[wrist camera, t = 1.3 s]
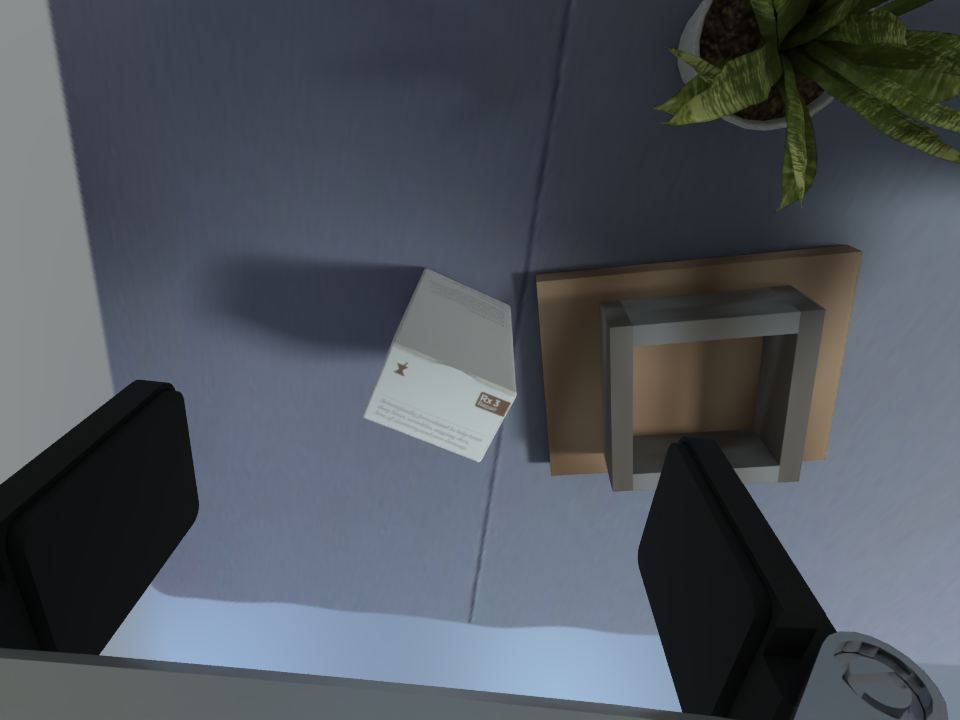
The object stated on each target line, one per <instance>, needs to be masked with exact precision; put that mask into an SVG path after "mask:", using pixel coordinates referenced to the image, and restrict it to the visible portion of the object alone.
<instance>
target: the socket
mask: <svg viewBox="0 0 960 720" xmlns="http://www.w3.org/2000/svg"><path fill="white" fill-rule="evenodd" d="M861 256H862V251H860V250H858V249H855V248H853V247H851V246H849V245H842V246H831V247H821V248H810V249H800V250H789V251H779V252H768V253H758V254H747V255H737V256H726V257H716V258H705V259H695V260H684V261H674V262H663V263H653V264H642V265H632V266H621V267H611V268H600V269H590V270H579V271H569V272H558V273H548V274H537V275H536V285H537V298H538V311H539V324H540V337H541V351H542V364H543V377H544V390H545V403H546V416H547V430H548V443H549V456H550V468H551V476H555V475H573V474H590V473H607V472H608V474H609V478H610V482H611V486H612V490H613V491H631V490H649V489H656V488H657V484H658V481H659V478H660V474H661V471H662V468H663V464H664V461H665V457H666V454H667V451H668V448H669V446H670V444H671V443H678V442H679V440H680V439H681V438H682V437H683V436H687V437H696V438H706V439H713V440H715V441H716V442H717V443H718V445H719V447H720V448H721V450H722V451H723V453H724V454H725V456H726V458H727V459H728V461H729V462H730V464H731V465H732V467H733V469H734V470H735V472H736V473H737V475H738V476H739V478H740V480H741V481H742V483H743V484H758V483H777V482H795V481H799V477H800V471H801V464H802V461H812V460H825V458H826V452H827V447H828V441H829V435H830V430H831V424H832V418H833V413H834V407H835V402H836V396H837V390H838V385H839V379H840V374H841V368H842V362H843V357H844V351H845V345H846V340H847V334H848V329H849V323H850V317H851V312H852V306H853V300H854V295H855V289H856V284H857V278H858V272H859V267H860V261H861Z"/></svg>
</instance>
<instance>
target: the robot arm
mask: <svg viewBox="0 0 960 720" xmlns="http://www.w3.org/2000/svg"><path fill="white" fill-rule="evenodd" d="M198 510H199V500H198V493H197V486H196V480H195V473H194V466H193V459H192V452H191V445H190V438H189V431H188V424H187V417H186V410H185V404H184V398H183V395H182V394H181V393H180V392H179V391H175V388H174V387H173V385H172V384H170V383H166V382H156V381H146V380H136V381H134V382H132V383H131V384H130V385H128V386H127V387H126V388H124V389H123V390H122V391H120V392H119V393H118V394H117V395H115V396H114V397H113V398H111V399H110V400H109V401H108V402H106V403H105V404H104V405H102V406H101V407H100V408H99V409H98V410H96V411H95V412H93V413H92V414H91V415H90V416H88V417H87V418H86V419H84V420H83V421H82V422H81V423H80V424H78V425H77V426H75V427H74V428H73V429H71V430H70V431H69V432H68V433H66V434H65V435H64V436H62V437H61V438H60V439H59V440H57V441H56V442H55V443H53V444H52V445H51V446H50V447H48V448H47V449H46V450H44V451H43V452H42V453H41V454H39V455H38V456H37V457H35V458H34V459H33V460H32V461H30V462H29V463H28V464H26V465H25V466H24V467H23V468H22V469H20V470H19V471H17V472H16V473H15V474H14V475H12V476H11V477H10V478H8V479H7V480H6V481H5V482H3V483H2V484H1V485H0V720H948V713H947V707H946V702H945V700H944V698H943V697H942V695H941V693H940V691H939V689H938V687H937V686H936V685H935V683H934V682H933V681H932V680H931V679H930V677H929V676H928V675H927V674H926V673H925V671H924V670H922V669H921V668H920V667H919V666H918V665H917V664H916V663H914V662H913V661H912V660H911V659H910V658H909V657H907V656H906V655H904V654H903V653H901V652H900V651H898V650H897V649H895V648H894V647H892V646H891V645H889V644H887V643H885V642H882V641H880V640H878V639H876V638H874V637H872V636H868V635H864V634H860V633H857V632H837V631H836V630H835V628H834V627H833V625H832V624H831V622H830V620H829V619H828V617H827V616H826V613H825V612H824V610H823V609H822V607H821V606H820V604H819V602H818V601H817V599H816V598H815V596H814V595H813V593H812V591H811V590H810V588H809V587H808V585H807V584H806V582H805V580H804V579H803V577H802V576H801V574H800V572H799V571H798V569H797V568H796V566H795V565H794V563H793V561H792V560H791V558H790V557H789V555H788V554H787V552H786V550H785V549H784V547H783V546H782V544H781V543H780V541H779V539H778V538H777V536H776V535H775V533H774V532H773V530H772V528H771V527H770V525H769V524H768V522H767V521H766V519H765V517H764V516H763V514H762V513H761V511H760V510H759V508H758V506H757V505H756V503H755V502H754V500H753V499H752V497H751V495H750V494H749V492H748V491H747V489H746V488H745V486H744V484H743V483H742V481H741V480H740V478H739V476H738V475H737V473H736V472H735V470H734V469H733V467H732V465H731V464H730V462H729V461H728V459H727V458H726V456H725V454H724V453H723V451H722V450H721V448H720V447H719V445H718V443H717V442H716V441H715V440H713V439H706V438H696V437H687V436H683V437H682V438H681V439H680V440H679V442H678V443H671V444H670V446H669V448H668V451H667V454H666V457H665V461H664V464H663V468H662V471H661V474H660V478H659V481H658V484H657V488H656V491H655V495H654V498H653V501H652V505H651V508H650V511H649V515H648V518H647V522H646V525H645V528H644V532H643V535H642V538H641V542H640V545H639V549H638V565H639V569H640V572H641V576H642V579H643V582H644V586H645V589H646V592H647V596H648V599H649V602H650V606H651V609H652V612H653V616H654V619H655V622H656V626H657V629H658V632H659V636H660V639H661V642H662V646H663V649H664V652H665V656H666V659H667V662H668V666H669V669H670V672H671V676H672V679H673V682H674V686H675V689H676V692H677V696H678V699H679V702H680V706H681V709H682V712H683V713H681V712H673V711H664V710H655V709H647V708H639V707H631V706H622V705H612V704H604V703H594V702H584V701H573V700H564V699H553V698H544V697H534V696H525V695H515V694H505V693H495V692H485V691H475V690H465V689H455V688H445V687H435V686H424V685H414V684H403V683H393V682H383V681H372V680H362V679H352V678H340V677H330V676H320V675H309V674H299V673H298V674H297V673H287V672H277V671H267V670H256V669H245V668H234V667H223V666H211V665H200V664H189V663H177V662H166V661H156V660H144V659H133V658H122V657H111V656H100V655H99V654H100V653H101V651H102V650H103V649H104V648H105V646H106V645H107V643H108V642H109V641H110V639H111V638H112V636H113V635H114V634H115V632H116V631H117V629H118V628H119V627H120V625H121V624H122V622H123V621H124V619H125V618H126V617H127V615H128V614H129V613H130V611H131V610H132V608H133V607H134V606H135V604H136V603H137V601H138V600H139V599H140V597H141V596H142V595H143V593H144V592H145V590H146V589H147V587H148V586H149V585H150V583H151V582H152V581H153V579H154V578H155V576H156V575H157V574H158V572H159V571H160V569H161V568H162V567H163V565H164V564H165V562H166V561H167V560H168V558H169V557H170V555H171V554H172V553H173V551H174V550H175V548H176V547H177V546H178V544H179V543H180V542H181V540H182V539H183V537H184V536H185V535H186V533H187V532H188V530H189V529H190V528H191V526H192V525H193V523H194V522H195V520H196V517H197V514H198Z"/></svg>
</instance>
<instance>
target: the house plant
mask: <svg viewBox="0 0 960 720" xmlns="http://www.w3.org/2000/svg"><path fill="white" fill-rule="evenodd" d="M886 1H887V0H703V1H702V3H701V4H700V6H699V7H698V8H697V10H696V11H695V12H694V14H693V15H692V16H691V18H690V19H689V20H688V22H687V24H686V26H685V28H684V31H683V33H682V35H681V38H680V43H679V47H678V50H677V49H674V48H668V47H663V48H667V49H668V50H670V51H671V52H672V54H673V55H674V56H675V57H677V58H678V68H679V72H680V75H681V79H682V81H683V82H684V84H685V85H684V86H683V87H682V88H681V89H680V90H679V91H678V92H677V93H676V94H675V95H674V96H673V97H672V98H670V99H669V100H668V101H666V102H665V103H664V104H662V105H661V106H658V107H654V108H651V109H656V110H662V111H664V112H666V113H668V114H670V115H672V116H674V117H673V118H672V119H671V120H670V121H669V122H660V123H663V124H668V125H684V124H691V123H699V122H708V121H711V120H715V119H718V118H721V117H722V118H723V119H724V120H725V121H727V122H730V123H732V124H735V125H737V126H739V127H742V128H744V129H752V130H762V131H768V130H774V129H780V128H786V127H787V133H786V144H785V153H784V161H783V169H782V192H783V196H782V200H781V204H780V208H778V209H777V210H776V211H778V210H780V209H782V208H784V207H786V206H788V205H790V204H791V203H793V202H795V201H797V200H798V199H799V200H800V203H801V206H802V199H803V196H804V195H805V194H806V192H807V191H808V189H809V188H810V186H811V185H812V182H813V179H814V177H815V174H816V167H817V152H816V143H815V136H814V129H813V125H812V121H811V116H813V115H814V114H815V113H817V112H818V111H820V110H821V109H822V108H824V107H825V106H826V105H828V104H829V103H831V102H832V100H833V99H834V98H835V99H837V100H838V101H840V102H841V103H843V104H844V105H846V106H847V107H849V108H851V109H852V110H854V111H855V112H857V113H859V114H860V115H861V116H862V117H864V118H865V119H866V120H867V121H868V122H870V123H871V124H872V125H873V126H874V127H876V128H877V129H879V130H880V131H882V132H883V133H885V134H886V135H888V136H890V137H891V138H893V139H895V140H897V141H899V142H901V143H903V144H906V145H908V146H910V147H913V148H915V149H918V150H920V151H923V152H925V153H928V154H930V155H933V156H936V157H938V158H941V159H943V160H947V161H952V162H956V163H959V164H960V152H959V151H957V150H955V149H954V148H952V147H950V146H948V145H947V144H945V143H943V141H942V140H941V139H940V138H939V136H938V135H936V134H935V133H934V132H933V131H932V130H931V129H930V128H928V127H927V126H925V125H923V124H921V123H919V122H917V121H915V120H913V119H911V118H909V117H907V116H906V115H904V114H902V113H900V112H899V111H897V110H896V109H894V108H898V109H900V110H901V111H903V112H905V113H906V114H908V115H910V116H912V117H914V118H916V119H918V120H921V121H923V122H925V123H928V124H930V125H933V126H936V127H940V128H943V129H946V130H950V131H954V132H957V133H960V112H959V111H958V110H956V109H953V108H950V107H947V106H945V105H942V104H939V103H941V102H944V101H947V100H949V99H952V98H954V97H957V96H958V94H959V92H960V36H958V35H955V34H951V33H939V32H936V31H919V30H906V27H905V25H904V24H903V23H902V22H901V21H900V20H899V19H898V17H897V16H899V15H902V14H904V13H906V12H909V11H911V10H913V9H916V8H918V7H920V6H922V5H924V4H926V3H929V2H931V1H933V0H895V1H893V2H891V3H888V4H886V5H884V6H882V7H880V8H878V9H876V10H874V9H875V7H876V6H878V5H880V4H882V3H884V2H886ZM776 211H775V212H776Z"/></svg>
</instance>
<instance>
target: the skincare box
mask: <svg viewBox="0 0 960 720" xmlns="http://www.w3.org/2000/svg"><path fill="white" fill-rule="evenodd" d="M516 395H517V392H516V383H515V369H514V353H513V335H512V323H511V307H510V306H509V305H508V304H506V303H503V302H501V301H499V300H496V299H494V298H492V297H490V296H487V295H485V294H483V293H481V292H479V291H476V290H474V289H472V288H470V287H467V286H465V285H463V284H461V283H458V282H456V281H454V280H452V279H450V278H447V277H445V276H443V275H441V274H439V273H436V272H434V271H432V270H430V269H424V271H423V273H422V275H421V278H420V280H419V282H418V284H417V287H416V289H415V291H414V294H413V296H412V298H411V300H410V302H409V304H408V306H407V309H406V311H405V313H404V315H403V317H402V320H401V322H400V324H399V326H398V329H397V331H396V333H395V335H394V338H393V340H392V343H391V345H390V348H389V351H388V353H387V356H386V359H385V361H384V364H383V366H382V369H381V371H380V374H379V376H378V379H377V381H376V384H375V386H374V388H373V391H372V393H371V395H370V398H369V400H368V402H367V404H366V407H365V409H364V412H363V417H364V418H366V419H368V420H371V421H373V422H376V423H379V424H381V425H384V426H387V427H389V428H392V429H395V430H397V431H400V432H402V433H405V434H408V435H410V436H413V437H415V438H418V439H421V440H423V441H426V442H429V443H431V444H434V445H436V446H439V447H441V448H444V449H446V450H449V451H452V452H454V453H457V454H459V455H462V456H464V457H467V458H469V459H472V460H474V461H477V462H480V461H481V460H482V458H483V456H484V455H485V453H486V451H487V449H488V447H489V445H490V443H491V442H492V440H493V438H494V436H495V434H496V432H497V430H498V429H499V427H500V425H501V423H502V421H503V420H504V418H505V416H506V414H507V413H508V411H509V409H510V407H511V405H512V404H513V402H514V400H515V398H516Z"/></svg>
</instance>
